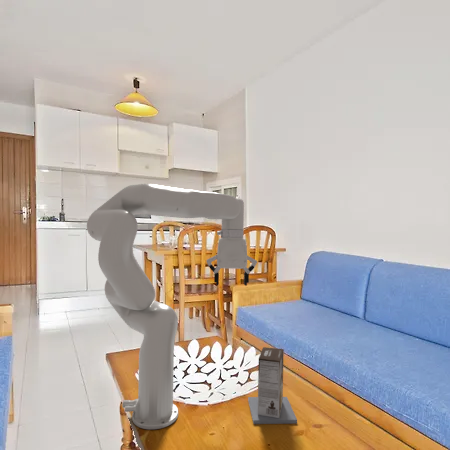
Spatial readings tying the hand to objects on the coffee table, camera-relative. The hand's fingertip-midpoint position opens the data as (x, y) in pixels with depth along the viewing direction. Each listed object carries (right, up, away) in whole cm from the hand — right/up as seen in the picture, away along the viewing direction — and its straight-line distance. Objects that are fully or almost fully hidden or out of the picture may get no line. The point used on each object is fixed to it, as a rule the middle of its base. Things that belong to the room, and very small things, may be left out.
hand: (231, 284), depth 114 cm
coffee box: (+11, -33, -17) cm, 39 cm away
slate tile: (+11, -34, -17) cm, 39 cm away
